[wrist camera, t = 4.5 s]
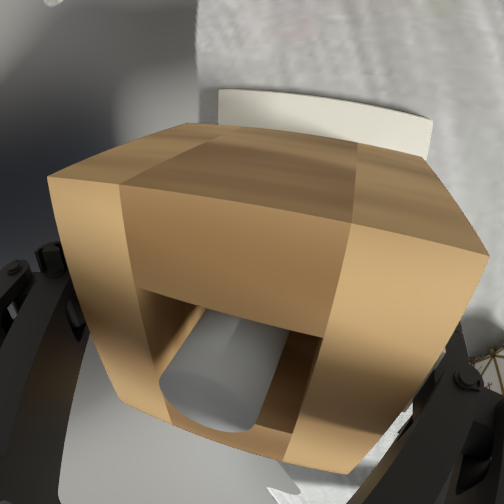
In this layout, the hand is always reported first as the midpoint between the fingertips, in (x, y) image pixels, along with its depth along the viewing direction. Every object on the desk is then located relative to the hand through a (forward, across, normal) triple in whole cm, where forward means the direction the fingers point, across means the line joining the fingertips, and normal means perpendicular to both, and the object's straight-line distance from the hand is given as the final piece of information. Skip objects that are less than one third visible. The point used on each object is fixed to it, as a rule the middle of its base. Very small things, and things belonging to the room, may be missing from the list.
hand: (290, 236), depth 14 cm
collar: (-1, 0, 0) cm, 1 cm away
